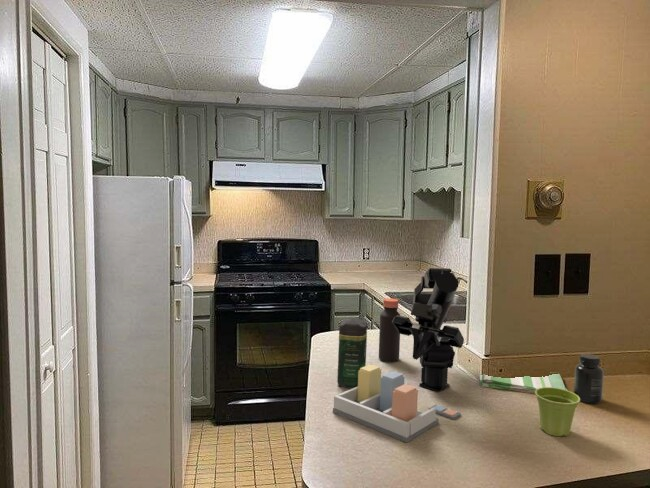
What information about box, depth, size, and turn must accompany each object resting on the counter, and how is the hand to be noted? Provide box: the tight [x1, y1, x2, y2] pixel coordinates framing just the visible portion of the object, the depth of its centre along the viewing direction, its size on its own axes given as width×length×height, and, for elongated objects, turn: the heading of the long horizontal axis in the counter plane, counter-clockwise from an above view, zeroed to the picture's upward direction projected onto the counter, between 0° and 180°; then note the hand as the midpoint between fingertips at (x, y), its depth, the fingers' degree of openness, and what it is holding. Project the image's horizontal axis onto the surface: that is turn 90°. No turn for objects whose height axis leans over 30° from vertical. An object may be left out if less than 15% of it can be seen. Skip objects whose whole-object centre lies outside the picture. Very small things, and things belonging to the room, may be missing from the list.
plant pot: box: [534, 387, 581, 437], centre depth 114 cm, size 9×9×9 cm
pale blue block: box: [380, 371, 405, 411], centre depth 121 cm, size 4×5×9 cm
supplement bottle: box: [573, 353, 605, 405], centre depth 133 cm, size 7×7×12 cm
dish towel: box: [479, 373, 569, 394], centre depth 146 cm, size 18×23×3 cm
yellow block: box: [358, 363, 382, 402], centre depth 126 cm, size 4×5×9 cm
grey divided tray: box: [332, 386, 440, 443], centre depth 119 cm, size 22×14×4 cm, turn 47°
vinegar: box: [378, 297, 402, 363], centre depth 162 cm, size 7×7×20 cm
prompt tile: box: [428, 404, 462, 420], centre depth 123 cm, size 7×4×1 cm, turn 47°
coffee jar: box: [336, 317, 368, 389], centre depth 141 cm, size 10×8×19 cm
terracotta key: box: [392, 383, 419, 422], centre depth 113 cm, size 4×5×9 cm
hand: (414, 358), depth 126 cm, fingers closed
